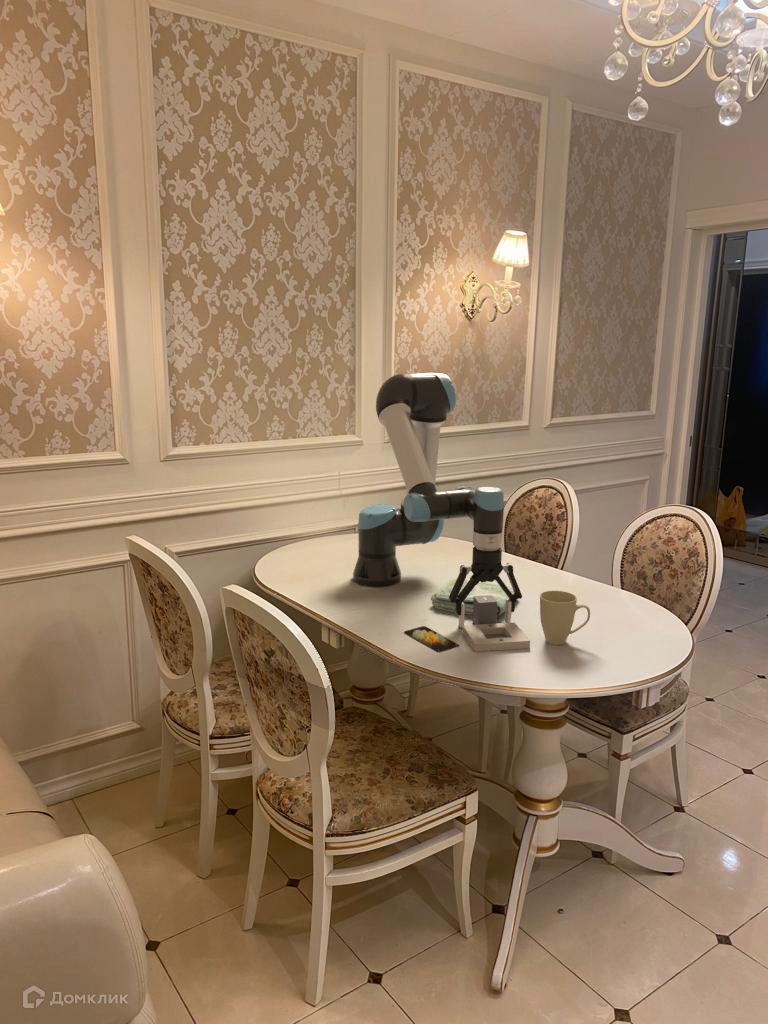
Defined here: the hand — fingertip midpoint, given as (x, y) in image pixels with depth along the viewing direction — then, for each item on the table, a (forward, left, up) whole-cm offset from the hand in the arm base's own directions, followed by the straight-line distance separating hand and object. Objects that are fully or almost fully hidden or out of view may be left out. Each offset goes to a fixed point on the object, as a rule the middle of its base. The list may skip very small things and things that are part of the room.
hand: (484, 624), depth 199 cm
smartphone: (+7, -16, -1) cm, 17 cm away
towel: (-16, +2, -1) cm, 16 cm away
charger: (0, 0, 0) cm, 0 cm away
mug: (+13, +16, 0) cm, 21 cm away
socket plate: (+10, 0, 0) cm, 10 cm away
